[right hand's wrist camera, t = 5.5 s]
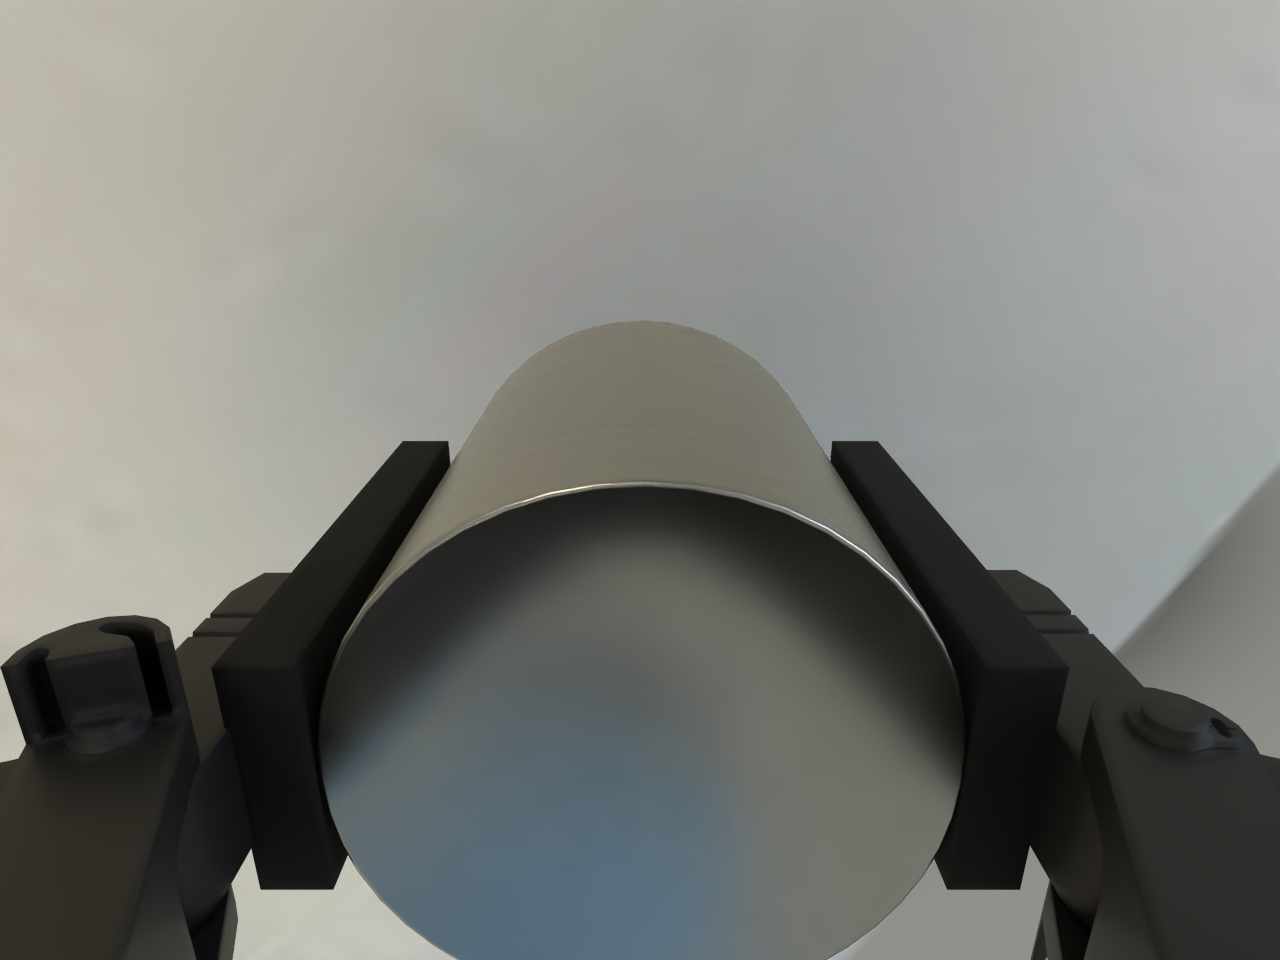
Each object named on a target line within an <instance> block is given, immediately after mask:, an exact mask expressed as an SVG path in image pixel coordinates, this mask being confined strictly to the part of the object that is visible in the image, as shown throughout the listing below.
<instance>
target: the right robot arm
mask: <svg viewBox="0 0 1280 960" xmlns="http://www.w3.org/2000/svg"><path fill="white" fill-rule="evenodd" d="M830 462H831V463H832V465H833V467H834V468H835V470H836V471H837V473H838V475H839V476H840V478H841V479H842V481H843V482H844V484H845V486H846V487H847V489H848V490H849V492H850V493H851V495H852V497H853V498H854V500H855V501H856V503H857V505H858V506H859V508H860V509H861V511H862V512H863V514H864V516H865V517H866V519H867V520H868V522H869V523H870V525H871V527H872V528H873V530H874V531H875V533H876V534H877V536H878V538H879V539H880V541H881V542H882V544H883V546H884V547H885V549H886V550H887V552H888V553H889V555H890V557H891V558H892V560H893V561H894V563H895V564H896V566H897V568H898V569H899V571H900V572H901V574H902V575H903V577H904V579H905V580H906V582H907V583H908V585H909V587H910V588H911V590H912V591H913V593H914V594H915V596H916V598H917V599H918V601H919V602H920V604H921V605H922V607H923V609H924V610H925V612H926V614H927V615H928V617H929V618H930V620H931V622H932V623H933V625H934V627H935V628H936V630H937V632H938V633H939V635H940V637H941V638H942V640H943V641H944V644H945V646H946V649H947V651H948V654H949V656H950V659H951V661H952V664H953V666H954V668H955V671H956V673H957V676H958V680H959V685H960V689H961V693H962V698H963V702H964V707H965V711H966V728H967V757H966V766H965V774H964V780H963V785H962V790H961V795H960V799H959V802H958V806H957V810H956V813H955V817H954V819H953V821H952V824H951V826H950V828H949V830H948V833H947V835H946V837H945V839H944V842H943V844H942V846H941V848H940V850H939V851H938V853H937V854H936V856H935V858H934V859H935V862H936V864H937V866H938V869H939V871H940V873H941V876H942V878H943V881H944V883H945V885H946V888H947V889H948V890H1020V887H1021V882H1022V878H1023V873H1024V869H1025V865H1026V860H1027V855H1028V851H1029V847H1030V846H1031V848H1032V849H1033V851H1034V853H1035V855H1036V856H1037V858H1038V860H1039V862H1040V863H1041V865H1042V867H1043V869H1044V870H1045V872H1046V874H1047V876H1048V877H1049V879H1050V881H1049V885H1048V889H1047V894H1046V898H1045V902H1044V906H1043V910H1042V914H1041V919H1040V923H1039V927H1038V931H1037V935H1036V939H1035V943H1034V948H1033V952H1032V956H1031V960H1045V959H1046V958H1047V957H1048V960H1280V759H1278V758H1273V757H1269V756H1265V755H1261V754H1260V753H1259V752H1258V750H1257V748H1256V746H1255V744H1254V743H1253V742H1252V740H1251V739H1250V738H1249V737H1248V736H1247V735H1246V734H1245V732H1244V731H1243V730H1242V729H1241V728H1240V727H1239V725H1237V724H1236V723H1234V722H1233V721H1231V720H1230V719H1228V718H1227V717H1225V716H1224V715H1222V714H1221V713H1219V712H1218V711H1216V710H1215V709H1213V708H1211V707H1209V706H1206V705H1204V704H1202V703H1200V702H1197V701H1195V700H1193V699H1190V698H1188V697H1186V696H1183V695H1179V694H1175V693H1171V692H1168V691H1164V690H1160V689H1156V688H1147V687H1143V686H1142V685H1141V684H1140V683H1139V681H1138V680H1137V679H1136V678H1135V677H1134V676H1133V675H1132V674H1131V673H1130V672H1129V671H1128V670H1127V669H1126V668H1125V667H1124V666H1123V665H1122V664H1121V663H1120V662H1119V661H1118V660H1117V658H1116V657H1115V656H1114V655H1113V654H1112V653H1111V652H1110V651H1109V650H1108V649H1107V648H1106V647H1105V646H1104V645H1103V644H1102V643H1101V642H1100V641H1099V640H1098V639H1097V638H1096V637H1095V636H1094V634H1089V632H1088V628H1087V627H1086V626H1085V625H1084V624H1083V623H1082V622H1081V621H1080V620H1079V619H1078V618H1077V617H1076V616H1075V615H1071V610H1070V609H1069V608H1068V607H1067V606H1066V605H1065V604H1064V603H1063V602H1062V601H1061V600H1060V599H1059V598H1058V597H1057V596H1056V595H1055V594H1054V593H1053V592H1052V591H1051V590H1050V589H1049V588H1047V587H1046V586H1044V585H1042V584H1040V583H1038V582H1037V581H1035V580H1033V579H1031V578H1030V577H1028V576H1026V575H1024V574H1022V573H1021V572H1019V571H1017V570H986V568H985V567H984V566H983V565H982V564H981V563H980V561H979V560H978V559H977V558H976V557H975V556H974V554H973V553H972V552H971V551H970V550H969V548H968V547H967V546H966V545H965V544H964V543H963V541H962V540H961V539H960V538H959V537H958V535H957V534H956V533H955V532H954V531H953V530H952V528H951V527H950V526H949V525H948V524H947V522H946V521H945V520H944V519H943V518H942V517H941V515H940V514H939V513H938V512H937V511H936V509H935V508H934V507H933V506H932V505H931V504H930V502H929V501H928V500H927V499H926V498H925V496H924V495H923V494H922V493H921V492H920V491H919V489H918V488H917V487H916V486H915V485H914V484H913V482H912V481H911V480H910V479H909V478H908V476H907V475H906V474H905V473H904V472H903V471H902V469H901V468H900V467H899V466H898V465H897V463H896V462H895V461H894V460H893V459H892V458H891V456H890V455H889V454H888V453H887V452H886V450H885V449H884V448H883V447H882V446H881V445H880V443H879V442H878V441H832V450H831V461H830ZM449 467H450V455H449V444H448V441H403V442H402V443H401V444H400V445H399V446H398V448H397V449H396V450H395V451H394V452H393V453H392V455H391V456H390V457H389V458H388V459H387V461H386V462H385V463H384V464H383V465H382V466H381V468H380V469H379V470H378V471H377V472H376V474H375V475H374V476H373V477H372V478H371V479H370V481H369V482H368V483H367V484H366V485H365V487H364V488H363V489H362V490H361V491H360V492H359V494H358V495H357V496H356V497H355V498H354V500H353V501H352V502H351V503H350V504H349V505H348V507H347V508H346V509H345V510H344V511H343V513H342V514H341V515H340V516H339V517H338V518H337V520H336V521H335V522H334V523H333V524H332V526H331V527H330V528H329V529H328V530H327V531H326V533H325V534H324V535H323V536H322V537H321V538H320V540H319V541H318V542H317V543H316V544H315V546H314V547H313V548H312V549H311V550H310V551H309V553H308V554H307V555H306V556H305V557H304V559H303V560H302V561H301V562H300V563H299V564H298V566H297V567H296V568H295V569H294V570H293V572H292V573H263V574H262V575H260V576H258V577H256V578H255V579H253V580H251V581H249V582H248V583H246V584H244V585H242V586H241V587H239V588H237V589H235V590H233V591H232V592H231V593H230V594H229V595H228V596H227V597H226V598H225V599H224V600H223V601H222V602H221V603H220V604H219V605H218V606H217V607H216V608H215V609H214V610H213V612H212V613H211V614H210V618H206V619H205V620H204V621H203V622H202V623H201V624H200V625H199V626H198V627H197V628H196V629H195V630H194V632H193V637H188V638H187V639H186V640H185V641H184V642H183V643H182V644H181V645H180V646H179V647H178V648H177V649H176V650H175V648H174V644H173V640H172V635H171V631H170V627H168V626H167V625H165V624H164V623H162V622H161V621H159V620H158V619H155V618H149V617H143V616H137V615H131V616H115V617H104V618H100V619H95V620H91V621H86V622H82V623H77V624H74V625H71V626H68V627H66V628H63V629H60V630H58V631H55V632H52V633H49V634H47V635H44V636H42V637H40V638H39V639H37V640H35V641H33V642H32V643H30V644H28V645H26V646H25V647H23V648H21V649H19V650H18V651H16V652H15V653H14V654H13V655H12V656H11V657H10V658H9V659H8V660H7V661H6V662H5V663H4V664H3V665H2V666H1V670H2V673H3V676H4V679H5V682H6V685H7V688H8V691H9V694H10V697H11V700H12V703H13V706H14V709H15V712H16V715H17V718H18V721H19V724H20V727H21V730H22V733H23V736H24V739H25V742H26V746H25V748H24V750H23V751H22V753H21V755H20V757H19V759H15V760H11V761H6V762H1V763H0V960H232V959H233V952H234V945H235V937H236V930H237V923H238V916H237V909H236V902H235V898H234V893H233V889H232V885H231V883H232V881H233V880H234V878H235V876H236V874H237V872H238V871H239V869H240V867H241V865H242V864H243V862H244V860H245V858H246V857H247V855H248V853H249V851H250V849H252V853H253V857H254V862H255V866H256V871H257V875H258V880H259V884H260V889H261V890H333V889H334V887H335V884H336V882H337V880H338V877H339V875H340V872H341V870H342V868H343V865H344V863H345V861H346V858H347V856H348V854H347V852H346V851H345V849H344V847H343V846H342V844H341V842H340V839H339V837H338V834H337V832H336V830H335V827H334V825H333V823H332V820H331V818H330V815H329V813H328V809H327V805H326V801H325V797H324V793H323V789H322V785H321V781H320V773H319V761H318V750H317V735H318V722H319V709H320V704H321V700H322V696H323V692H324V687H325V683H326V679H327V675H328V672H329V669H330V667H331V665H332V662H333V660H334V658H335V655H336V653H337V651H338V648H339V646H340V644H341V641H342V639H343V637H344V636H345V634H346V632H347V631H348V629H349V628H350V626H351V624H352V623H353V621H354V620H355V618H356V616H357V615H358V613H359V612H360V610H361V608H362V607H363V605H364V603H365V602H366V600H367V599H368V597H369V595H370V594H371V592H372V591H373V589H374V587H375V586H376V584H377V583H378V581H379V579H380V578H381V576H382V575H383V573H384V571H385V570H386V568H387V567H388V565H389V563H390V562H391V560H392V559H393V557H394V555H395V554H396V552H397V551H398V549H399V547H400V546H401V544H402V543H403V541H404V539H405V538H406V536H407V535H408V533H409V531H410V530H411V528H412V526H413V525H414V523H415V522H416V520H417V518H418V517H419V515H420V514H421V512H422V510H423V509H424V507H425V506H426V504H427V502H428V501H429V499H430V498H431V496H432V494H433V493H434V491H435V490H436V488H437V486H438V485H439V483H440V482H441V480H442V478H443V477H444V475H445V474H446V472H447V470H448V469H449Z"/></svg>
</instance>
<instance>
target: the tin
mask: <svg viewBox="0 0 1280 960" xmlns="http://www.w3.org/2000/svg"><path fill="white" fill-rule="evenodd" d="M317 750H318V761H319V773H320V781H321V785H322V789H323V793H324V797H325V801H326V805H327V809H328V813H329V815H330V818H331V820H332V823H333V825H334V827H335V830H336V832H337V834H338V837H339V839H340V842H341V844H342V846H343V847H344V849H345V851H346V852H347V854H348V856H349V857H350V859H351V861H352V862H353V864H354V866H355V867H356V869H357V871H358V872H359V874H360V875H361V876H362V877H363V879H364V880H365V881H366V882H367V884H368V885H369V886H370V887H371V889H372V890H373V891H374V892H375V894H376V895H377V896H378V897H379V899H380V900H381V901H382V902H383V903H384V904H385V905H386V906H387V907H388V908H389V909H390V910H392V911H393V912H394V913H395V914H396V915H397V916H398V917H399V918H400V919H401V920H402V921H403V922H404V923H405V924H406V925H407V926H409V927H410V928H411V929H413V930H414V931H415V932H417V933H418V934H419V935H421V936H422V937H423V938H425V939H426V940H427V941H429V942H430V943H431V944H432V945H434V946H435V947H437V948H439V949H440V950H442V951H444V952H446V953H447V954H449V955H451V956H452V957H454V958H456V959H457V960H827V959H828V958H830V957H832V956H833V955H835V954H837V953H839V952H840V951H842V950H844V949H845V948H847V947H849V946H850V945H851V944H853V943H854V942H855V941H857V940H858V939H859V938H861V937H862V936H863V935H865V934H866V933H868V932H869V931H870V930H872V929H873V928H874V927H876V926H877V925H878V924H879V923H880V922H881V921H882V920H883V919H884V918H885V917H886V916H887V915H888V914H889V913H891V912H892V911H893V910H894V909H895V908H896V907H897V906H898V905H899V904H900V903H901V902H902V901H903V900H904V898H905V897H906V896H907V895H908V894H909V892H910V891H911V890H912V889H913V888H914V886H915V885H916V884H917V883H918V882H919V880H920V879H921V878H922V877H923V875H924V874H925V872H926V871H927V869H928V867H929V866H930V864H931V862H932V861H933V859H934V858H935V856H936V854H937V853H938V851H939V850H940V848H941V846H942V844H943V842H944V839H945V837H946V835H947V833H948V830H949V828H950V826H951V824H952V821H953V819H954V817H955V813H956V810H957V806H958V802H959V799H960V795H961V790H962V785H963V780H964V774H965V766H966V757H967V728H966V711H965V707H964V702H963V698H962V693H961V689H960V685H959V680H958V676H957V673H956V671H955V668H954V666H953V664H952V661H951V659H950V656H949V654H948V651H947V649H946V646H945V644H944V641H943V640H942V638H941V637H940V635H939V633H938V632H937V630H936V628H935V627H934V625H933V623H932V622H931V620H930V618H929V617H928V615H927V614H926V612H925V610H924V609H923V607H922V605H921V604H920V602H919V601H918V599H917V598H916V596H915V594H914V593H913V591H912V590H911V588H910V587H909V585H908V583H907V582H906V580H905V579H904V577H903V575H902V574H901V572H900V571H899V569H898V568H897V566H896V564H895V563H894V561H893V560H892V558H891V557H890V555H889V553H888V552H887V550H886V549H885V547H884V546H883V544H882V542H881V541H880V539H879V538H878V536H877V534H876V533H875V531H874V530H873V528H872V527H871V525H870V523H869V522H868V520H867V519H866V517H865V516H864V514H863V512H862V511H861V509H860V508H859V506H858V505H857V503H856V501H855V500H854V498H853V497H852V495H851V493H850V492H849V490H848V489H847V487H846V486H845V484H844V482H843V481H842V479H841V478H840V476H839V475H838V473H837V471H836V470H835V468H834V467H833V465H832V463H831V462H830V460H829V459H828V457H827V456H826V454H825V452H824V451H823V449H822V448H821V446H820V445H819V443H818V441H817V440H816V438H815V437H814V435H813V434H812V432H811V430H810V429H809V427H808V426H807V424H806V422H805V421H804V419H803V418H802V416H801V415H800V413H799V411H798V410H797V408H796V407H795V405H794V404H793V402H792V400H791V399H790V397H789V396H788V394H787V393H786V392H785V390H784V389H783V388H782V387H781V385H780V384H779V383H778V382H777V381H776V379H775V378H774V377H773V376H772V375H771V374H770V373H769V372H768V371H767V370H766V369H765V368H763V367H762V366H761V365H760V364H759V363H758V362H757V361H756V360H755V359H753V358H752V357H750V356H749V355H747V354H746V353H744V352H743V351H742V350H740V349H739V348H737V347H736V346H734V345H732V344H730V343H728V342H726V341H724V340H722V339H720V338H718V337H716V336H714V335H711V334H708V333H705V332H703V331H700V330H697V329H694V328H691V327H686V326H681V325H676V324H672V323H666V322H652V321H631V322H617V323H612V324H606V325H601V326H596V327H592V328H589V329H586V330H583V331H580V332H577V333H574V334H571V335H569V336H567V337H565V338H563V339H561V340H559V341H557V342H555V343H553V344H551V345H549V346H547V347H546V348H544V349H543V350H541V351H540V352H538V353H537V354H535V355H534V356H532V357H531V358H529V359H528V360H527V361H526V362H525V363H524V364H522V365H521V366H520V367H519V368H518V369H517V370H516V371H515V372H513V373H512V374H511V375H510V377H509V378H508V379H507V380H506V381H505V383H504V384H503V385H502V386H501V387H500V388H499V390H498V391H497V392H496V394H495V395H494V397H493V398H492V400H491V402H490V403H489V405H488V406H487V408H486V409H485V411H484V413H483V414H482V416H481V417H480V419H479V421H478V422H477V424H476V425H475V427H474V429H473V430H472V432H471V433H470V435H469V437H468V438H467V440H466V441H465V443H464V445H463V446H462V448H461V449H460V451H459V453H458V454H457V456H456V458H455V459H454V461H453V462H452V464H451V466H450V467H449V469H448V470H447V472H446V474H445V475H444V477H443V478H442V480H441V482H440V483H439V485H438V486H437V488H436V490H435V491H434V493H433V494H432V496H431V498H430V499H429V501H428V502H427V504H426V506H425V507H424V509H423V510H422V512H421V514H420V515H419V517H418V518H417V520H416V522H415V523H414V525H413V526H412V528H411V530H410V531H409V533H408V535H407V536H406V538H405V539H404V541H403V543H402V544H401V546H400V547H399V549H398V551H397V552H396V554H395V555H394V557H393V559H392V560H391V562H390V563H389V565H388V567H387V568H386V570H385V571H384V573H383V575H382V576H381V578H380V579H379V581H378V583H377V584H376V586H375V587H374V589H373V591H372V592H371V594H370V595H369V597H368V599H367V600H366V602H365V603H364V605H363V607H362V608H361V610H360V612H359V613H358V615H357V616H356V618H355V620H354V621H353V623H352V624H351V626H350V628H349V629H348V631H347V632H346V634H345V636H344V637H343V639H342V641H341V644H340V646H339V648H338V651H337V653H336V655H335V658H334V660H333V662H332V665H331V667H330V669H329V672H328V675H327V679H326V683H325V687H324V692H323V696H322V700H321V704H320V709H319V722H318V735H317Z"/></svg>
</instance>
